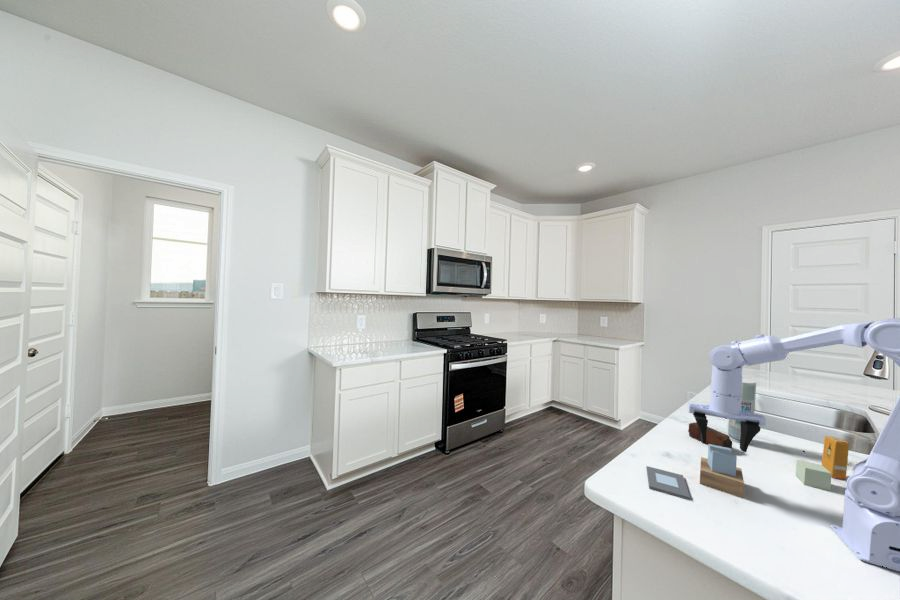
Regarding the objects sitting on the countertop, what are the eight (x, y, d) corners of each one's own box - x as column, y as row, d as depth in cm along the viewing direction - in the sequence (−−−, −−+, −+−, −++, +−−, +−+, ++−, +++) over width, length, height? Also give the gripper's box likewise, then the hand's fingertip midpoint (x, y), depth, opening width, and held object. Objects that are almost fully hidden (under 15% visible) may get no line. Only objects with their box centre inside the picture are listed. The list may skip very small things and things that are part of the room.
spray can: (751, 439, 103) (755, 380, 102) (753, 447, 98) (757, 384, 97) (725, 433, 107) (728, 376, 106) (726, 440, 102) (729, 380, 101)
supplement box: (848, 480, 81) (851, 442, 81) (832, 478, 82) (834, 441, 81) (835, 472, 84) (837, 436, 84) (819, 471, 85) (822, 435, 85)
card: (690, 499, 72) (690, 497, 72) (649, 488, 76) (649, 485, 76) (682, 477, 81) (682, 474, 81) (646, 468, 84) (646, 465, 84)
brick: (687, 436, 104) (688, 422, 104) (696, 435, 105) (697, 421, 105) (723, 453, 94) (724, 437, 94) (732, 451, 95) (733, 436, 95)
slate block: (735, 476, 75) (736, 456, 75) (711, 471, 77) (712, 451, 77) (729, 467, 79) (730, 448, 79) (707, 462, 81) (708, 443, 81)
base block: (743, 499, 73) (744, 483, 73) (699, 485, 78) (700, 469, 78) (740, 483, 79) (741, 468, 79) (700, 471, 84) (701, 457, 84)
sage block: (830, 491, 77) (831, 473, 76) (804, 485, 79) (805, 467, 79) (820, 481, 80) (821, 464, 80) (795, 476, 83) (796, 459, 82)
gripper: (758, 393, 78) (755, 446, 78) (686, 383, 85) (684, 432, 85) (770, 402, 71) (767, 460, 72) (691, 391, 78) (689, 443, 79)
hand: (722, 446), depth 78 cm, fingers open, 7 cm apart
